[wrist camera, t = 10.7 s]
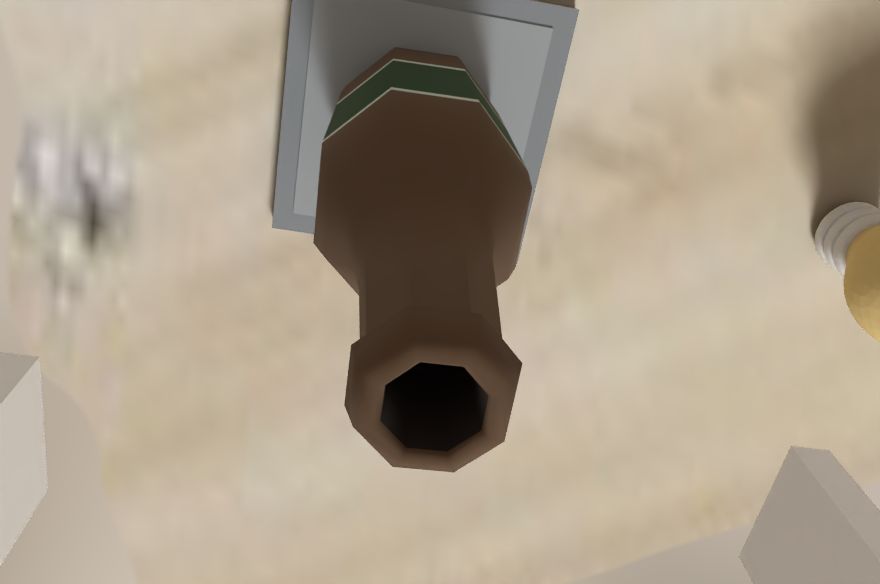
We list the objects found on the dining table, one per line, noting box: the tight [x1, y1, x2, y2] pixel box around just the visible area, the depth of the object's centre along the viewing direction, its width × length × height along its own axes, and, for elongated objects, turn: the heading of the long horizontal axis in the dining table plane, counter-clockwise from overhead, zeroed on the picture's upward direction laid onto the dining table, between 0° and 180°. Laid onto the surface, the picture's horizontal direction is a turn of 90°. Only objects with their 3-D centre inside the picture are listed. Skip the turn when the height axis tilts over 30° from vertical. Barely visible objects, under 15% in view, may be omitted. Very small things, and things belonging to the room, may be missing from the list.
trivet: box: [272, 0, 579, 264], centre depth 36 cm, size 13×13×1 cm
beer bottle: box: [313, 47, 532, 472], centre depth 25 cm, size 8×8×24 cm
